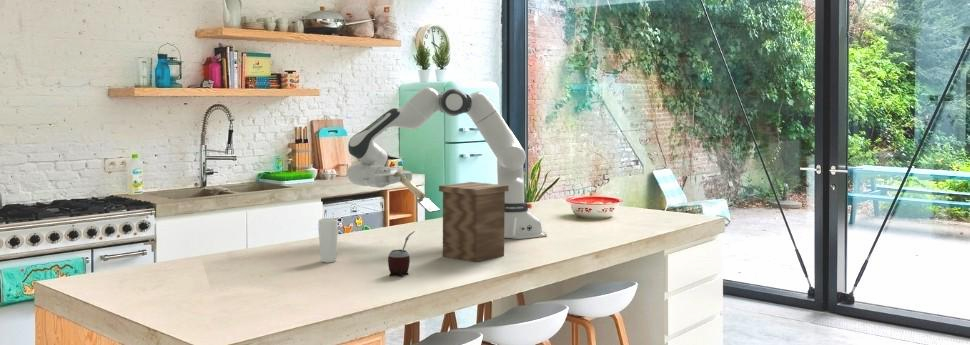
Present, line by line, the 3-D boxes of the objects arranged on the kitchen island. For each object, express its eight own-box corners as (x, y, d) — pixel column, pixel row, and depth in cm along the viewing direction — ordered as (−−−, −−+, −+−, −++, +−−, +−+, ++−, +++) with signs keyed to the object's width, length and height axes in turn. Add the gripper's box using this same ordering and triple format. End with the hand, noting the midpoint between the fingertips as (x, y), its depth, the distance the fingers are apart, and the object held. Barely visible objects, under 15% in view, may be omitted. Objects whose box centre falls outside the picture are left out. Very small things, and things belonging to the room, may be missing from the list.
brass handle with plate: (390, 177, 341) (392, 171, 340) (400, 176, 345) (403, 170, 344) (429, 212, 329) (431, 207, 328) (439, 211, 333) (442, 205, 332)
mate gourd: (385, 273, 289) (385, 228, 288) (408, 272, 292) (408, 227, 290) (391, 278, 282) (391, 232, 281) (415, 276, 285) (415, 231, 283)
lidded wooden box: (438, 256, 319) (438, 185, 317) (470, 249, 333) (470, 181, 330) (476, 262, 308) (477, 189, 305) (507, 255, 322) (508, 185, 319)
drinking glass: (340, 259, 311) (340, 218, 310) (335, 263, 305) (334, 221, 303) (321, 259, 312) (321, 217, 311) (316, 263, 305) (315, 220, 304)
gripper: (359, 170, 341) (384, 172, 332) (396, 167, 356) (421, 169, 348) (359, 186, 341) (384, 189, 333) (397, 182, 357) (421, 184, 348)
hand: (403, 178), depth 340 cm, fingers closed on brass handle with plate, 3 cm apart
